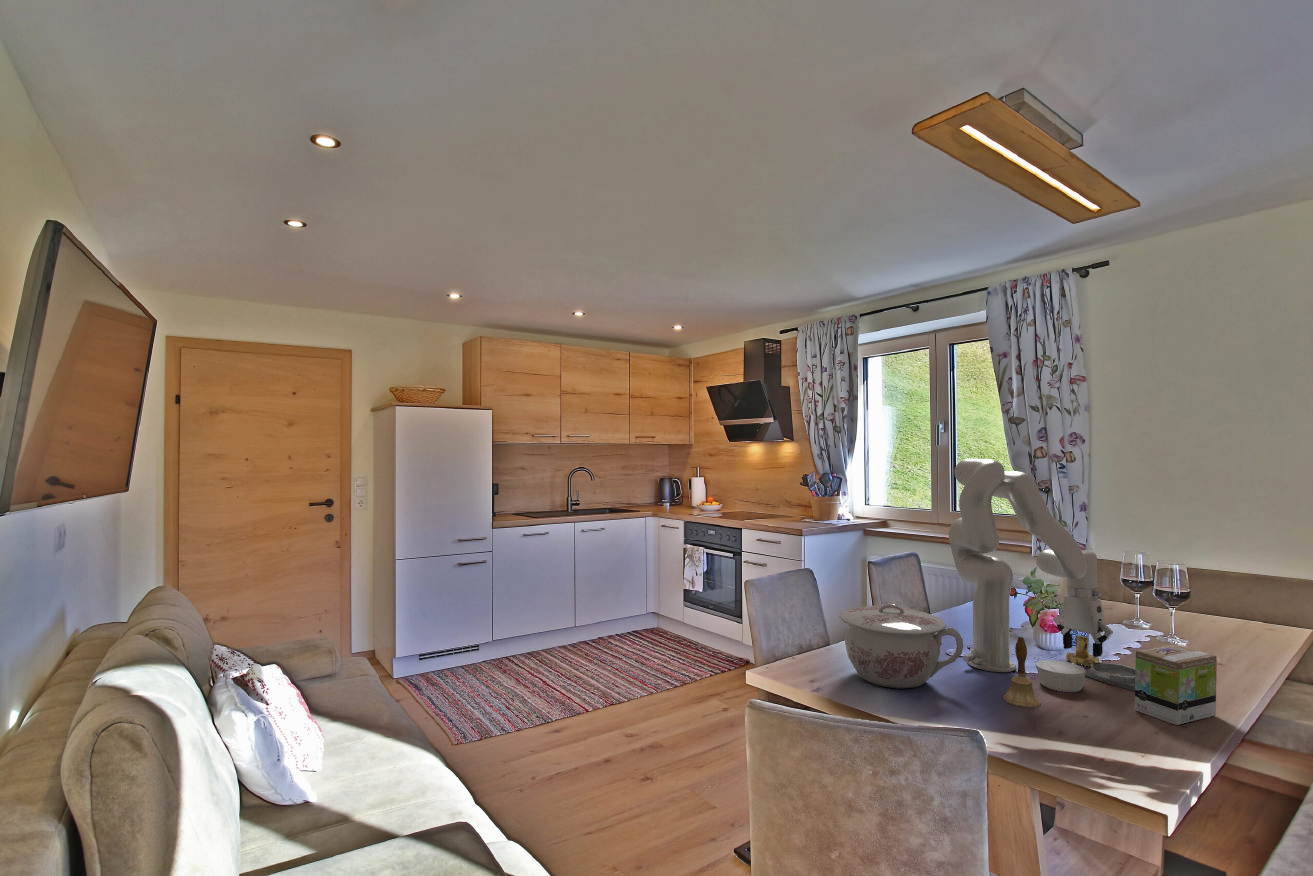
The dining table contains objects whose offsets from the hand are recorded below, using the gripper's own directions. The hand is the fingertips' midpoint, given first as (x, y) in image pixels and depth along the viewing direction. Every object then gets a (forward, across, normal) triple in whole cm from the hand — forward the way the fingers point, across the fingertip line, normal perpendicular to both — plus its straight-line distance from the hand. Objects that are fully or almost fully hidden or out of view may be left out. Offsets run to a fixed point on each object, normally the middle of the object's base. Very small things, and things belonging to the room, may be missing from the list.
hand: (1082, 651), depth 194 cm
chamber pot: (+3, +14, +62) cm, 64 cm away
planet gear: (+3, 0, 0) cm, 3 cm away
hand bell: (+3, -11, +44) cm, 46 cm away
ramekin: (+3, -9, +25) cm, 27 cm away
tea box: (+3, -32, +18) cm, 37 cm away
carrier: (+3, -15, +6) cm, 16 cm away
